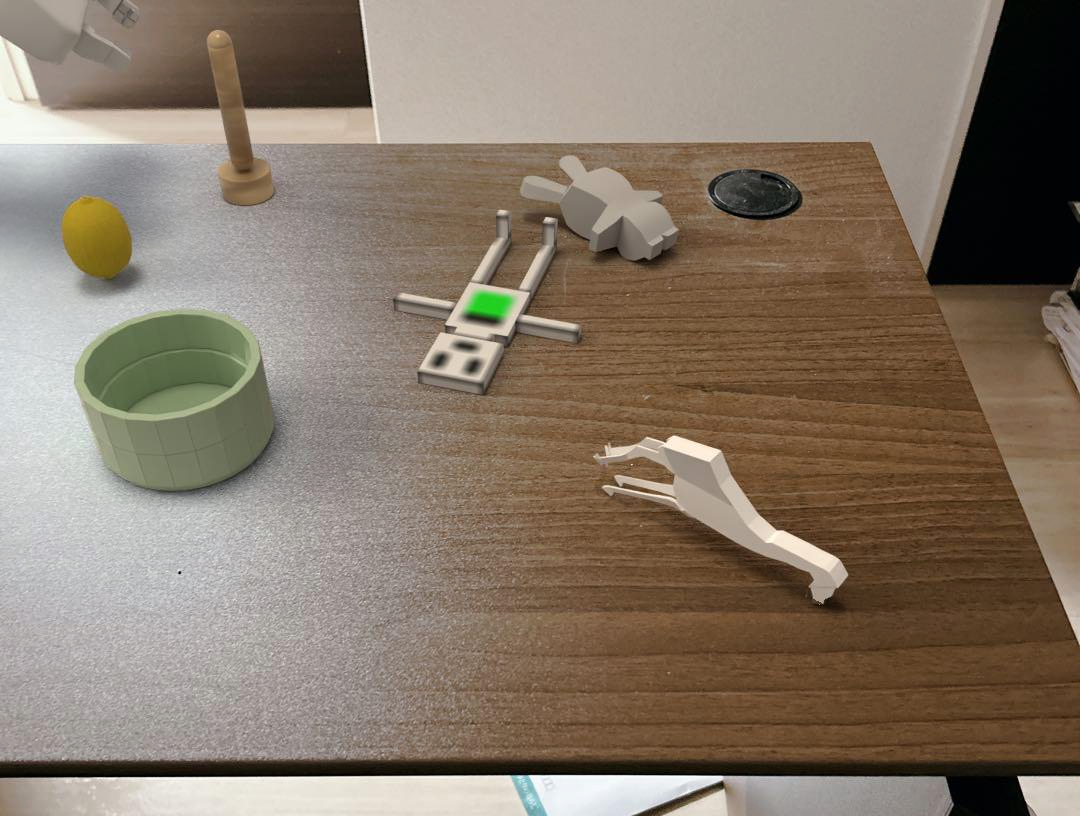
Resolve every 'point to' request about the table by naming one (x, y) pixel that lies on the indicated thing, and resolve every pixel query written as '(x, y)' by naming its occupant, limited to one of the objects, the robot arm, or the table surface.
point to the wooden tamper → (236, 130)
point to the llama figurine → (722, 505)
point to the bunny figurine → (607, 210)
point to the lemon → (96, 237)
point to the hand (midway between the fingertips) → (132, 42)
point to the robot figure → (486, 317)
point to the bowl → (176, 398)
